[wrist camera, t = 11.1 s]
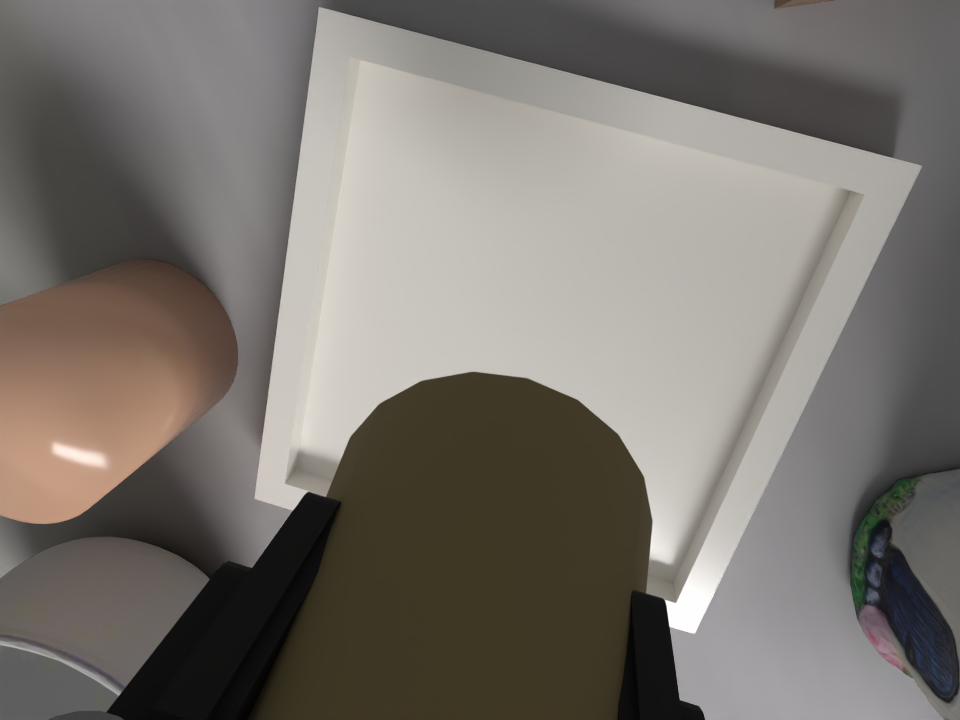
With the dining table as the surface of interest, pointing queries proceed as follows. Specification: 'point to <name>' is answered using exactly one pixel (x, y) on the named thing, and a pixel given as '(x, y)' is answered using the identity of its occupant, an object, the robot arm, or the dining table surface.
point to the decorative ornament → (914, 583)
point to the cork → (471, 563)
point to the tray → (566, 271)
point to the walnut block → (795, 2)
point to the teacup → (86, 622)
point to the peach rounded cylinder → (103, 382)
